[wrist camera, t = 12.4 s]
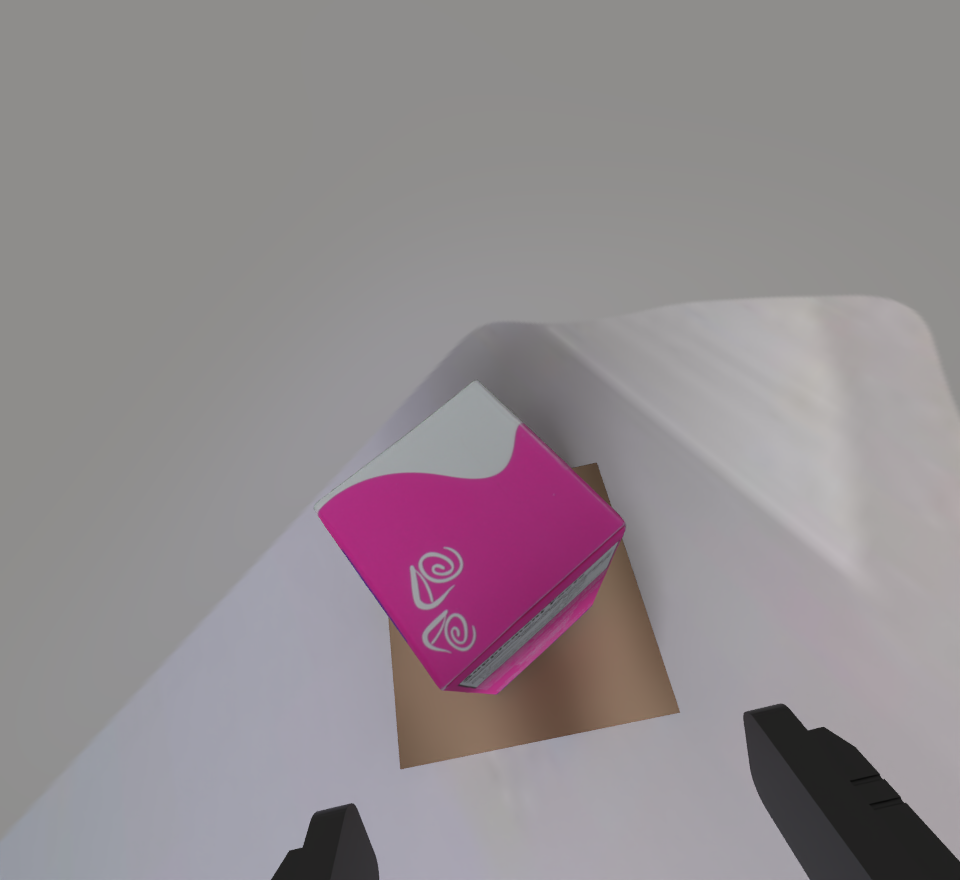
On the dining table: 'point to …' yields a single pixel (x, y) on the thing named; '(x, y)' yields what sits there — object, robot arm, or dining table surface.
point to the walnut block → (543, 679)
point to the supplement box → (474, 541)
